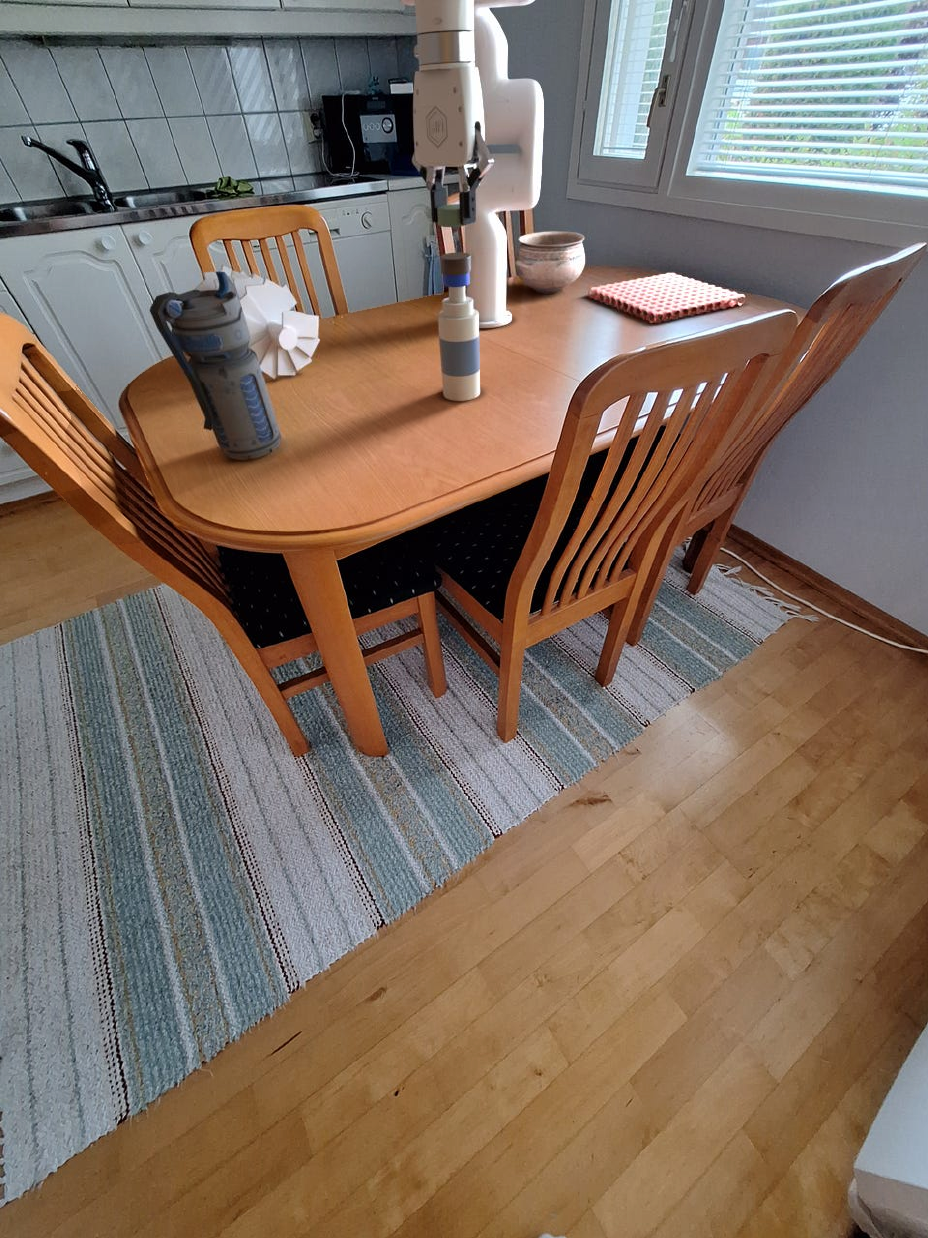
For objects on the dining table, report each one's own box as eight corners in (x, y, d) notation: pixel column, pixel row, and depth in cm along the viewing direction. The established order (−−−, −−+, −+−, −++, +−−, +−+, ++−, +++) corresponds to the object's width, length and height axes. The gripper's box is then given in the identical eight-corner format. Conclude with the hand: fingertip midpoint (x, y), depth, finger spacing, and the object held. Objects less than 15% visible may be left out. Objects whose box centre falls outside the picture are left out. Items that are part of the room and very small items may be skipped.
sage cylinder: (433, 223, 85) (432, 206, 83) (462, 219, 86) (461, 202, 84) (444, 228, 81) (443, 210, 80) (474, 224, 83) (474, 206, 81)
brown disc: (436, 270, 89) (435, 254, 88) (464, 266, 90) (463, 250, 89) (447, 276, 86) (446, 260, 84) (475, 272, 87) (475, 256, 86)
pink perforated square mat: (587, 296, 144) (588, 287, 143) (669, 280, 152) (671, 271, 150) (654, 324, 126) (656, 314, 124) (744, 304, 133) (746, 295, 132)
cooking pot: (554, 275, 160) (557, 226, 152) (603, 286, 150) (609, 234, 141) (492, 293, 150) (492, 241, 141) (540, 306, 139) (544, 251, 130)
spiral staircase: (284, 404, 112) (227, 369, 124) (339, 345, 114) (277, 317, 126) (223, 330, 96) (164, 299, 108) (288, 264, 98) (223, 240, 110)
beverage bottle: (198, 460, 88) (122, 289, 70) (259, 428, 96) (205, 266, 78) (237, 476, 84) (168, 298, 66) (298, 441, 92) (251, 273, 74)
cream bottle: (437, 389, 104) (428, 269, 90) (471, 382, 106) (468, 263, 92) (450, 404, 100) (443, 279, 85) (486, 396, 101) (484, 272, 87)
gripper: (381, 58, 72) (398, 222, 85) (480, 48, 65) (482, 230, 78) (417, 58, 76) (428, 214, 89) (515, 49, 69) (511, 221, 82)
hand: (453, 220), depth 83 cm, fingers closed on sage cylinder, 5 cm apart
